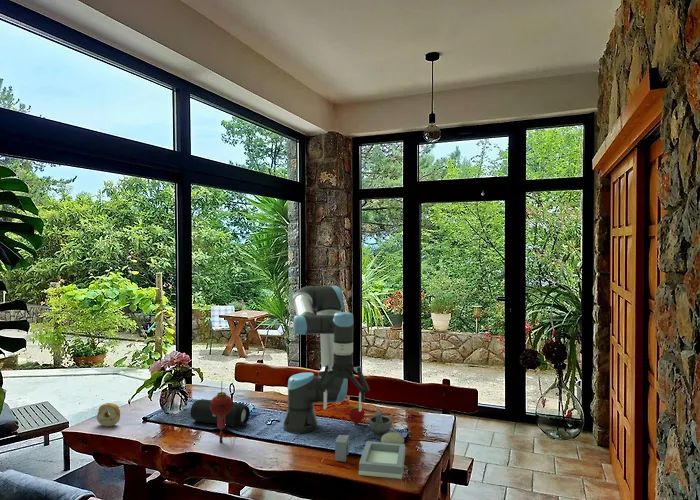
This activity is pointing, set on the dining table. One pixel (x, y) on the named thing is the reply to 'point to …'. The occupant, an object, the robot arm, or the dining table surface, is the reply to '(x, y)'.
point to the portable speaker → (203, 414)
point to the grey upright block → (341, 447)
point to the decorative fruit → (356, 414)
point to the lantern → (221, 409)
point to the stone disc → (104, 416)
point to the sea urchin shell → (392, 438)
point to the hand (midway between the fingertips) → (342, 409)
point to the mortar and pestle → (379, 425)
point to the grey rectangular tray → (382, 460)
